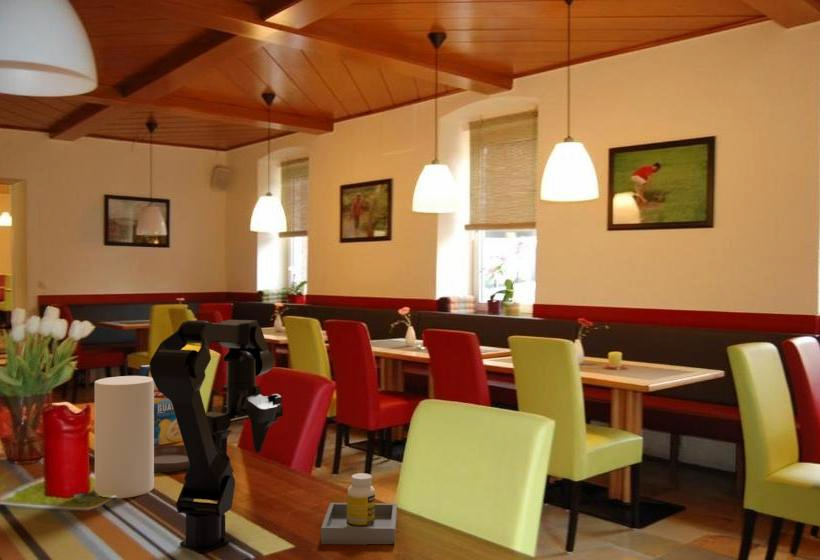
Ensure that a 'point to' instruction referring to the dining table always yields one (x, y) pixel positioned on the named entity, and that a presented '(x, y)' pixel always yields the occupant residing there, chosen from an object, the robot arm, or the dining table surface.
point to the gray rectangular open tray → (340, 533)
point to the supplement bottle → (361, 501)
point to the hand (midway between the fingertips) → (241, 457)
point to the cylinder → (124, 436)
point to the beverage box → (162, 415)
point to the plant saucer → (170, 458)
